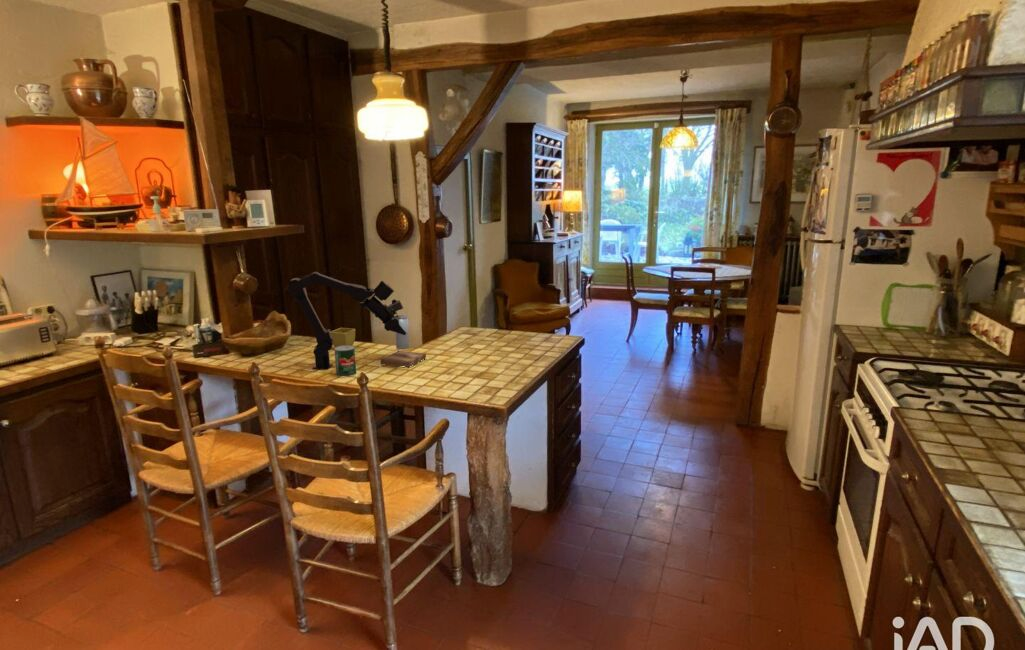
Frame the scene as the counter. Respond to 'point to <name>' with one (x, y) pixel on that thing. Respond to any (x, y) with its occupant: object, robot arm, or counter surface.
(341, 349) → the canned tomato
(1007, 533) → the counter surface
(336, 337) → the flower pot
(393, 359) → the board
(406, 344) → the grey can
